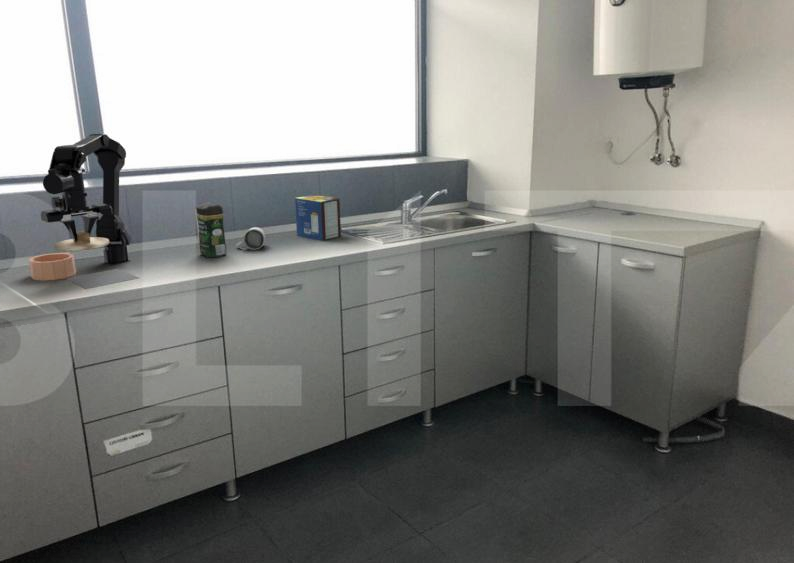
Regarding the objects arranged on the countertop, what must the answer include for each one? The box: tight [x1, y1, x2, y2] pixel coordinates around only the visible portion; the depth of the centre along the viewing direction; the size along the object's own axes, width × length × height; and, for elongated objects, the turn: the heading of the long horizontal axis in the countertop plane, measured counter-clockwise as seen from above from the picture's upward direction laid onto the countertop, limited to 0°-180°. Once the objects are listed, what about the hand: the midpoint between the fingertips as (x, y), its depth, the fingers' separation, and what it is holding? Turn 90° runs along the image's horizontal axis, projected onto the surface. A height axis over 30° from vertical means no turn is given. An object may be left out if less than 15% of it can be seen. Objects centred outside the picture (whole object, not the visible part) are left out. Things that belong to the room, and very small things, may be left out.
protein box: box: [294, 194, 342, 241], centre depth 251 cm, size 10×15×16 cm
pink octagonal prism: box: [28, 252, 77, 282], centre depth 196 cm, size 12×12×6 cm
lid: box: [53, 230, 109, 252], centre depth 191 cm, size 15×15×4 cm
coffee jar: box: [195, 201, 227, 258], centre depth 221 cm, size 10×8×19 cm
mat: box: [65, 268, 140, 290], centre depth 193 cm, size 16×16×1 cm
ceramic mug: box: [236, 226, 267, 251], centre depth 233 cm, size 11×8×8 cm
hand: (81, 240), depth 191 cm, fingers closed on lid, 3 cm apart
